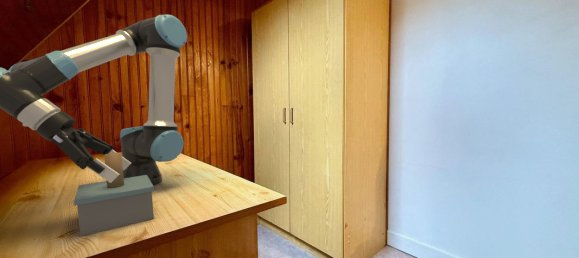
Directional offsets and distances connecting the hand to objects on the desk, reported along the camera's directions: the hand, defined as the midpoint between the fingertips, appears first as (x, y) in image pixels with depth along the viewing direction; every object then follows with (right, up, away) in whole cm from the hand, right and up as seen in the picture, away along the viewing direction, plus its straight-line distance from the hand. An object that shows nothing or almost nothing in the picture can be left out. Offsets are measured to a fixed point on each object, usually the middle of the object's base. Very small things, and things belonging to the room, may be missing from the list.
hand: (122, 172), depth 73 cm
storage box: (-2, -13, +1) cm, 13 cm away
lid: (-2, -5, 0) cm, 5 cm away
